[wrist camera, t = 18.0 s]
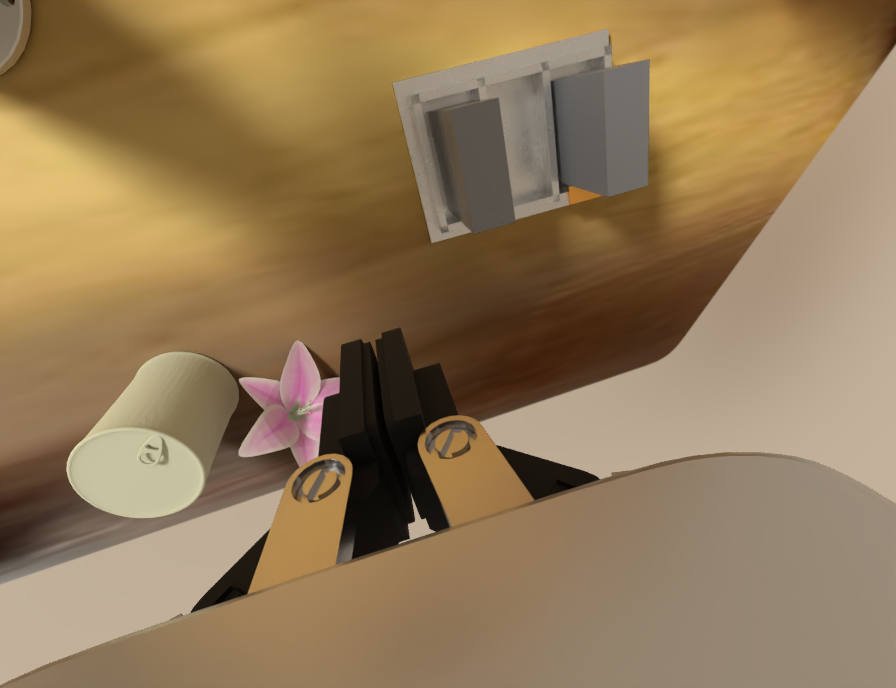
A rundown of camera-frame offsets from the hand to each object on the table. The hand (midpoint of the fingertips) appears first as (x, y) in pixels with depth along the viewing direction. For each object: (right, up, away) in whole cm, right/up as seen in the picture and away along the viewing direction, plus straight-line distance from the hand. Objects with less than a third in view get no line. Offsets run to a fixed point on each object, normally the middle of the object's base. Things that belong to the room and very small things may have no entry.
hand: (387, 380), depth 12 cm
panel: (+12, +20, +25) cm, 34 cm away
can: (-24, -4, +30) cm, 39 cm away
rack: (+7, +19, +25) cm, 32 cm away
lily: (-13, -3, +33) cm, 35 cm away
